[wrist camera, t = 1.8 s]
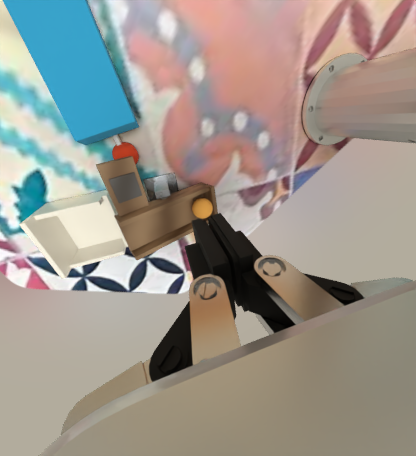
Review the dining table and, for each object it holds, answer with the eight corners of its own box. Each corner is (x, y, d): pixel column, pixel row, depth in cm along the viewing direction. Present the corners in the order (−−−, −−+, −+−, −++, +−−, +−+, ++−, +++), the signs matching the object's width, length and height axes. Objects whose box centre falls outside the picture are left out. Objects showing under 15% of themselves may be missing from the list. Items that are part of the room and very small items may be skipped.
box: (110, 189, 30) (99, 206, 24) (131, 236, 34) (127, 261, 28) (46, 202, 28) (19, 224, 22) (77, 250, 33) (61, 278, 27)
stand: (174, 172, 31) (178, 181, 26) (186, 224, 36) (191, 239, 31) (143, 179, 30) (141, 189, 25) (160, 231, 35) (162, 247, 31)
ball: (205, 192, 30) (214, 198, 28) (208, 210, 32) (217, 217, 30) (187, 198, 29) (195, 205, 27) (191, 216, 31) (199, 224, 29)
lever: (42, 33, 23) (111, 175, 29) (-11, -26, 17) (92, 174, 22) (96, 18, 24) (155, 160, 29) (66, -46, 17) (149, 154, 22)
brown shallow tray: (189, 139, 28) (207, 140, 25) (202, 213, 35) (218, 221, 31) (89, 164, 22) (95, 169, 19) (128, 248, 29) (138, 263, 25)
